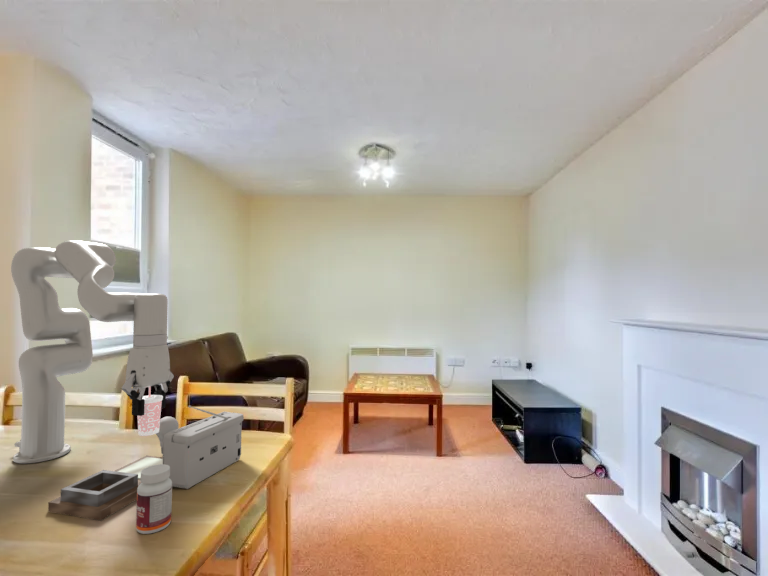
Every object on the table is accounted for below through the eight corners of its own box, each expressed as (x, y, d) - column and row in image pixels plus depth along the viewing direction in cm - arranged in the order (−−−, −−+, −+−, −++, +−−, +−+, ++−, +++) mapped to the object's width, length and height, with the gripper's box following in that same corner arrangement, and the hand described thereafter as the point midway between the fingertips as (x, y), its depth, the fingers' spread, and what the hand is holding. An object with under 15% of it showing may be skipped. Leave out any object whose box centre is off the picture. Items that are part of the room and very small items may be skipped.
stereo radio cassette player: (222, 455, 116) (223, 386, 116) (245, 459, 113) (246, 388, 113) (160, 487, 96) (161, 404, 97) (186, 493, 93) (188, 407, 94)
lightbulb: (167, 459, 112) (168, 420, 112) (149, 458, 113) (149, 419, 114) (182, 451, 118) (183, 414, 118) (164, 450, 119) (165, 413, 120)
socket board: (48, 511, 85) (48, 490, 85) (146, 462, 110) (147, 446, 110) (101, 520, 82) (101, 498, 82) (190, 468, 107) (190, 451, 107)
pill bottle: (131, 526, 79) (132, 469, 80) (164, 514, 84) (165, 460, 84) (142, 539, 75) (144, 479, 76) (176, 525, 80) (177, 468, 80)
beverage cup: (133, 438, 98) (134, 381, 98) (135, 431, 103) (137, 376, 104) (162, 434, 101) (163, 379, 101) (162, 427, 106) (163, 374, 106)
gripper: (163, 337, 112) (162, 402, 111) (108, 344, 95) (106, 420, 95) (186, 338, 110) (185, 403, 110) (134, 345, 93) (132, 422, 93)
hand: (149, 410), depth 102 cm, fingers closed on beverage cup, 6 cm apart
